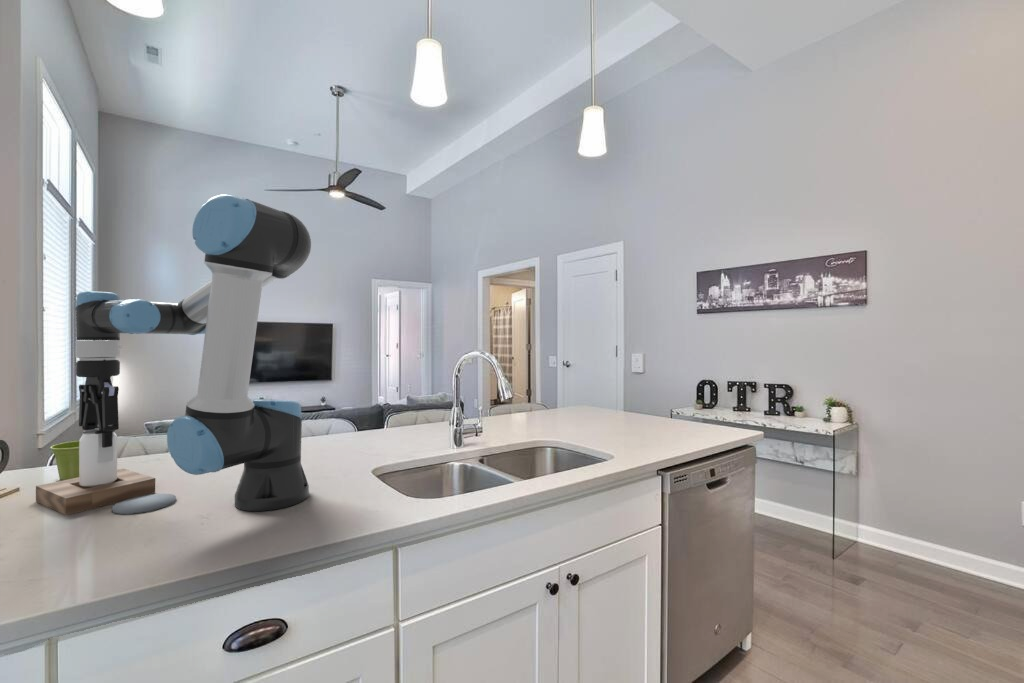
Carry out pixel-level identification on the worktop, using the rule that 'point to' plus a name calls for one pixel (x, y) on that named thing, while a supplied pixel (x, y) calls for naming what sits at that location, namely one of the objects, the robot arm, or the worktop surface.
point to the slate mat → (144, 503)
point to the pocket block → (93, 492)
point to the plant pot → (67, 459)
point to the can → (95, 462)
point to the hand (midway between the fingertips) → (98, 459)
